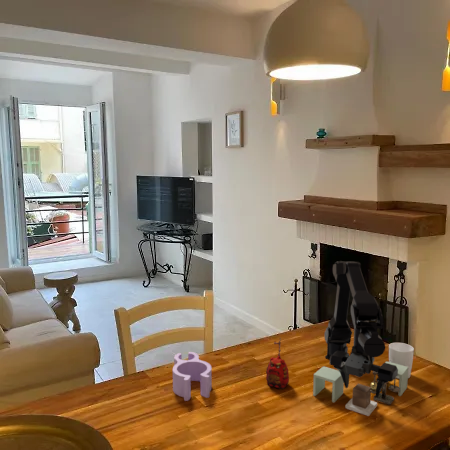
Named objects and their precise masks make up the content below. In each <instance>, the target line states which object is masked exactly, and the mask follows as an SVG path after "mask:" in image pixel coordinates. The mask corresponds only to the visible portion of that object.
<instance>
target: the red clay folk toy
mask: <svg viewBox="0 0 450 450" xmlns="http://www.w3.org/2000/svg"><path fill="white" fill-rule="evenodd" d="M281 341H282V338H281V337H279V340H278V342H277V341H276V340H275V341H274V342H273V344H274V345H278V353H277V357H273V356H272V357H270V359H269V363H268V365H267V366H266V371H265V373H266V375H265V376H266V377H265V379H266V383H267V385H268V386H269V387H272V388H276V389H281V390H283V389H286V387H287V386H288V384H289V383H290V378H289V377H290V376H289V375H290V374H289V373H290V372H289V368H288V366H287V363H286V362H285V360H284V359H282V357H281V352H282V351H281V343H282V342H281Z"/></svg>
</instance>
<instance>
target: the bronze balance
mask: <svg viewBox="0 0 450 450" xmlns="http://www.w3.org/2000/svg"><path fill="white" fill-rule="evenodd" d="M372 375H373V381H372V382H370V387H371V394H373V395H374V396H373V401H375V402H378V403H379V402H380V403H382V404H386V405H389V406H391V404H393V401H394V400H395V397H394V396H392V395H389V394H387V384H388V383H384V385H383V388H382V390H381V392H380V394H379V396H378V398H376V388H377V381H376V379H377V378H376V376H378V372H374V371H372ZM396 381H397V378H396V377H395V379H394V380H393V385H392V384H391V385H389V386H388V390H389V392H394V393H399V391H400V388H399V385H396Z"/></svg>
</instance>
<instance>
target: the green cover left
mask: <svg viewBox="0 0 450 450" xmlns="http://www.w3.org/2000/svg"><path fill="white" fill-rule="evenodd" d="M312 380H313V385H312V386H313V387H312V388H313V389H312V396H313V397H316V396H317V395H318V394H319V393H320V392H321V391H322V390H324V389H325V387H326V382H329V383H332V388H331V389H332V391H331V393H332V394H331V402H332V403H335V402H336V401H337V400H339V398H341V396H343V394H344V387H345V385H344V382H343V379H342V376H341V374H340V372H339V370H337V369H335V368H330V367H327V366H321V368H319V369H318V370H317V371H316V372H314V373H313V379H312Z"/></svg>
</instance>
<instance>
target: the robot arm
mask: <svg viewBox="0 0 450 450" xmlns="http://www.w3.org/2000/svg"><path fill="white" fill-rule="evenodd" d="M332 274H333V277H334V279H335V282H336V283H337V285H336V286H337V287H336V294H335V303H334V313H333V316H332V317H331V318H330V320H328V324H327V327H326V329H325V331H324V341H325V343H326V344H327V349H326V352H327V353H326V354H325V357H324V358H325V359H329V365H330V366H333V369H335V370H338V371H339V372H340V374H341V376H342V379H343V382H344V387H345V389H348V388H349V383H350V375H352V376H355V377H358V378H361V377H363V376H364V375H365V374H367V375H369V374H371V371H372V372H373V371H374V372H378V375H377V378H376V383H377V388H376V394H375V395H376V398H378V396H379V394H380V393H382V388H383V385H384V383H387V384H388V383H389V382H390V383H391V382H394V379H395V377H396V376H397V375H398V369H397V367H396V366H395V365H391V364H388V363H385V362H383V363H382V364H381V365H378V364H374V362H375V358H378V357H380V356H382V355H383V354H384V352H385V350H386V344H385V342H384V340H383V339H382V337H381V336H380V334H379V332H378V330H379V329H380V330H383V328H384V326H383V325H384V316H383V312H382V309H381V308H380V307H381V306H380V305H379V304H378V302H377V300H376V298H375V296H374V295H372V294H370V293H369V291H368V288H367V285H366V281H365V278H364V276H363V273H362V264H361V262H359V261H336V262H334V264H332ZM350 296H351V297H352V300H351V301H352V303H351V304H350V305H349V303H350V299H351V298H350ZM349 306H350V315H351V316H350V317H351V320H352V324H353V329H354V330H353V332H352V329H351V327H350V324H349V322H348V312H349ZM352 335H353V345H352V346H351V352H350V354H349V351H348V348H349V347H348V345H347V344H349V345H350V344H351V341H352V340H351V339H352Z"/></svg>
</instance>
